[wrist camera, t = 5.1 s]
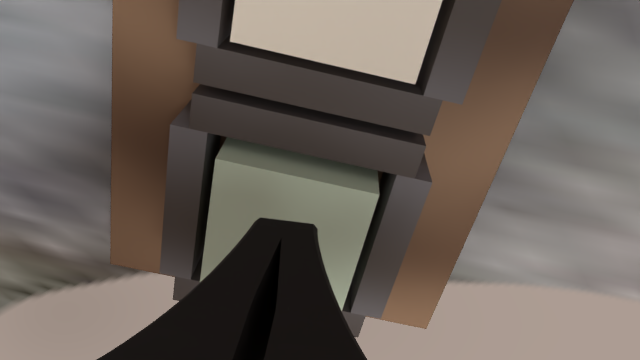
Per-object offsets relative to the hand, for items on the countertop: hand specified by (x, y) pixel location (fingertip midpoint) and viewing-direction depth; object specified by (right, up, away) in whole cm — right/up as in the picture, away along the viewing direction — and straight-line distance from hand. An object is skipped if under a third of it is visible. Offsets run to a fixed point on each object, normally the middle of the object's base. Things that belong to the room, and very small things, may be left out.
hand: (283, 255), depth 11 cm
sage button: (0, +1, +5) cm, 5 cm away
